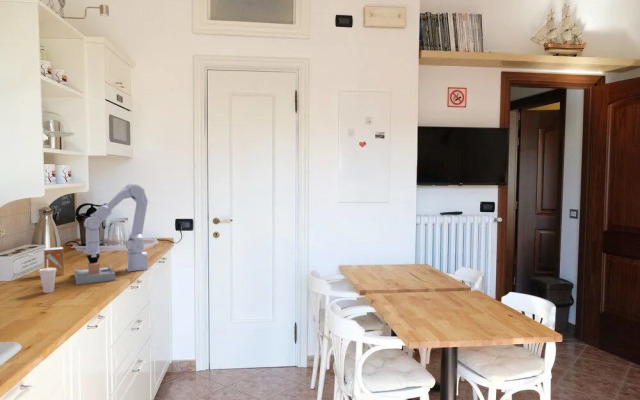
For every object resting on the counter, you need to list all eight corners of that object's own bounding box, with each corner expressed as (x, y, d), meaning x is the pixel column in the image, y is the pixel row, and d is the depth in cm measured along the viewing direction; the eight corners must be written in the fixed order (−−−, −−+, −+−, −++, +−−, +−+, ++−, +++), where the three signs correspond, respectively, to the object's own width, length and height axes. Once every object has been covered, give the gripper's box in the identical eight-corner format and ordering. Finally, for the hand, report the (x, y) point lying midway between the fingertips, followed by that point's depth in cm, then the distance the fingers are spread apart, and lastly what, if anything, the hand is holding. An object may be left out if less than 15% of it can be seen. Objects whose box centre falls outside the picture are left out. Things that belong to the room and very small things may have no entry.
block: (98, 271, 215) (98, 262, 215) (99, 273, 211) (99, 264, 211) (88, 272, 213) (88, 263, 212) (89, 274, 209) (88, 265, 208)
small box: (44, 277, 212) (43, 250, 211) (44, 274, 217) (43, 248, 216) (64, 274, 216) (63, 248, 215) (63, 272, 221) (62, 246, 220)
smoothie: (38, 294, 182) (37, 261, 181) (40, 290, 188) (39, 258, 187) (57, 292, 185) (55, 259, 184) (57, 289, 191) (56, 257, 190)
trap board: (110, 270, 225) (110, 264, 225) (115, 280, 206) (115, 273, 206) (74, 274, 217) (74, 267, 216) (76, 284, 198) (76, 277, 197)
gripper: (82, 240, 218) (83, 267, 219) (84, 244, 206) (84, 273, 207) (98, 239, 222) (99, 265, 223) (100, 243, 209) (101, 271, 210)
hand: (93, 269), depth 215 cm, fingers closed
